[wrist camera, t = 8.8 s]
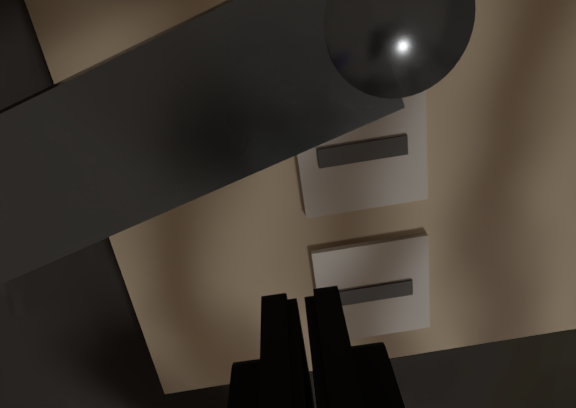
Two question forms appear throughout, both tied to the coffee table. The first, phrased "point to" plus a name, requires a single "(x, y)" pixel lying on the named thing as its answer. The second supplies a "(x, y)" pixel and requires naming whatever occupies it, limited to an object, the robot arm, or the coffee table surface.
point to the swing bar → (207, 111)
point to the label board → (366, 203)
